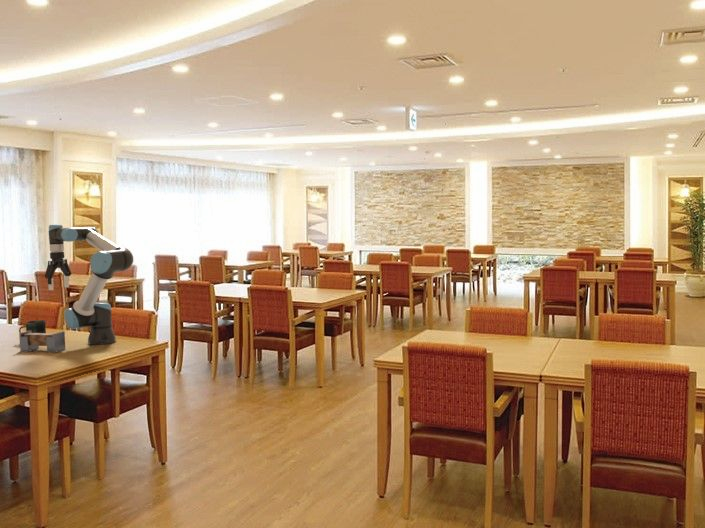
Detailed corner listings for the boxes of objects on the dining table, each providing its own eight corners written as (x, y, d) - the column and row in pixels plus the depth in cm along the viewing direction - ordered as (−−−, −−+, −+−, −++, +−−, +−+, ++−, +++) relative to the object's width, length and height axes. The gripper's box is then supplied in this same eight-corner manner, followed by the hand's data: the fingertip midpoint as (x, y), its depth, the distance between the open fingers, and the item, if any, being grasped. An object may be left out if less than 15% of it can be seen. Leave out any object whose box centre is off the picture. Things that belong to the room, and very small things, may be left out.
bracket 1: (38, 348, 386) (37, 330, 385) (28, 351, 378) (27, 333, 377) (31, 348, 387) (30, 330, 386) (20, 351, 379) (19, 333, 378)
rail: (58, 344, 380) (58, 333, 380) (52, 346, 375) (52, 335, 375) (30, 343, 385) (30, 332, 384) (24, 345, 380) (23, 334, 379)
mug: (47, 342, 403) (46, 322, 402) (19, 345, 397) (18, 324, 396) (47, 339, 413) (46, 319, 412) (20, 342, 407) (18, 321, 406)
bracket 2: (65, 349, 382) (64, 331, 381) (55, 352, 374) (54, 334, 373) (57, 348, 383) (56, 331, 382) (47, 352, 375) (46, 333, 374)
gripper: (65, 250, 408) (67, 286, 410) (36, 253, 384) (38, 291, 386) (76, 250, 406) (78, 286, 408) (48, 253, 382) (50, 291, 384)
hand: (59, 288), depth 397 cm, fingers open, 13 cm apart
